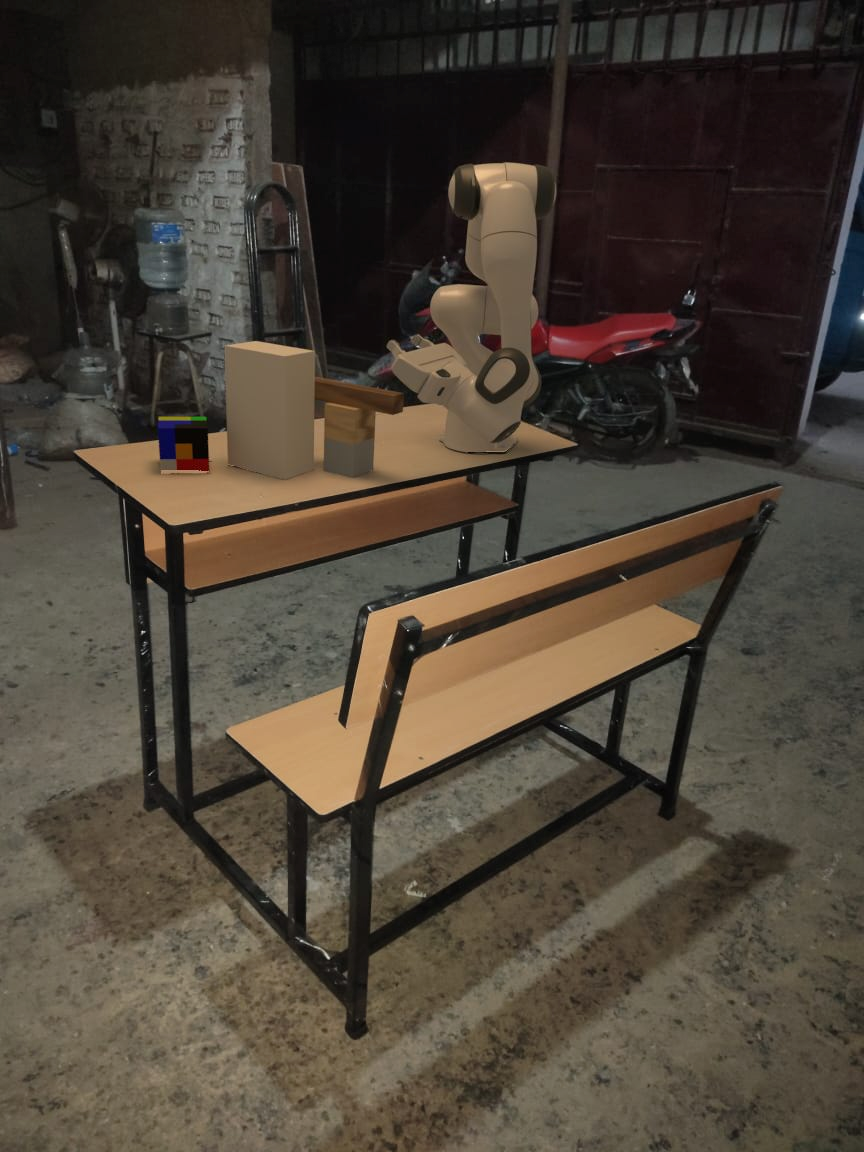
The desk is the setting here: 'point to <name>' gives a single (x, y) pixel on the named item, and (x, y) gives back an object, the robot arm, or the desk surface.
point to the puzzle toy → (183, 443)
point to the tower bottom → (348, 457)
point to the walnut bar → (358, 396)
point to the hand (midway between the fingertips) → (401, 339)
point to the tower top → (348, 423)
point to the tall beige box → (270, 408)
